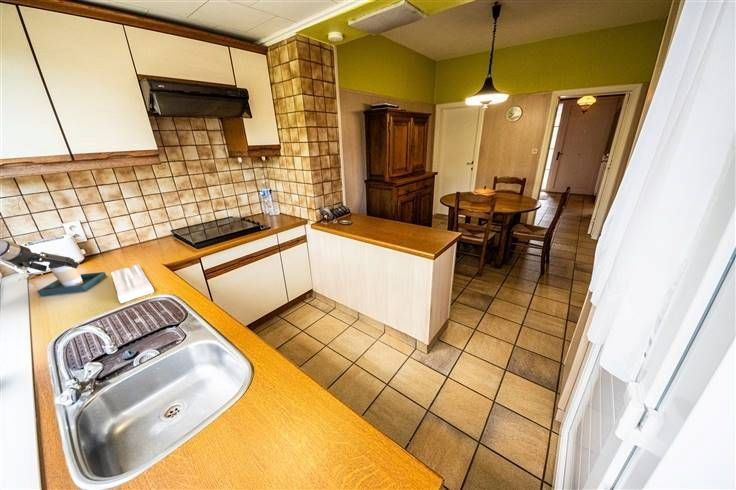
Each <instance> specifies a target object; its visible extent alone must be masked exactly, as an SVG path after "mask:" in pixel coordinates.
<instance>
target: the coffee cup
mask: <svg viewBox="0 0 736 490" xmlns="http://www.w3.org/2000/svg"><path fill="white" fill-rule="evenodd" d="M70 260H71V261H74V262H76V261H75V259H73V258H71V257H70ZM78 267H79V266H78ZM78 267H77V268H73V267H69V266H66V265H63V264H62V263H52V262H49V264H48V265H47V269H49V270H50V271H51V273H52V274H53V275H54V277H55V278H56V280H59V282H61V284H62V285H63V286H64V288H65V287H74V286H80V285H82V284H83V280H82V278H81V275H80V274H81V272H80V270H79V268H78Z"/></svg>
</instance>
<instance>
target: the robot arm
mask: <svg viewBox="0 0 736 490" xmlns="http://www.w3.org/2000/svg"><path fill="white" fill-rule="evenodd" d="M70 258H71V257H70V256H64V255H58V254H53V253H48V252H44V251H41V252H40V253H37V252H32V250H31V248H29V247H26V246H23V245H21V244H18V243H15V242H12V241H8V240H5V239H2V238H0V261H5V262H6V263H7V262H8V263H11V264H13V265H14V266H16V267H17V268H19V269H20V268H21V269H23V267H24V268H26V269H27V268H29V269H33V270H37V271H40V272H47V269H48V265H44V264H42V263H50V262H52V263H62V264H63V265H66V266H69V267H73V268H77V267H79V262H77V261H75V262H74V261H71V260H70Z"/></svg>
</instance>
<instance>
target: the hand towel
mask: <svg viewBox="0 0 736 490" xmlns="http://www.w3.org/2000/svg"><path fill="white" fill-rule="evenodd" d="M110 274H111V277H112V280H113V283H114V288H115V291H116V293H117V294H116V295H117V299H118V301H119V303H120V304H125V303H129V302H131V301H133V300H136V299H140V298H142V297H145V296H147V295H151V294H153V293H155V290H154V287H153V285H152V283H151V282H150V280H149V279H148V278H147V276H146V274H145V273H144V271H143V269H142V267H140V264H139V263H137V264H133V265H131V266H130V267H124V268H120V269H117V270H114V271H111V272H110Z"/></svg>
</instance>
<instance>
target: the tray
mask: <svg viewBox="0 0 736 490" xmlns="http://www.w3.org/2000/svg"><path fill="white" fill-rule="evenodd" d="M80 275H81V278H82V280H83V284H82V285H80V286H74V287H65V288H64V286H63V285H62V284H61V282H59V280H58V279H56V280H54V281H52V282H51V283H49V284H48V285H45V286H44V287H42V288H40V289H38V290H37V291H36V292H37V294H38V296H39V297H40V298H41V297H48V296H56V295H66V294H77V293H84V292H87V291H88V290H90V289H92V288H93V287H94V286H96V285H98V284H99V283H100V282H102V281H103V280H105V279H106V278H107V277H108V275H107V273H106V271H101V272H99V271H98V272H90V273H80Z"/></svg>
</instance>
